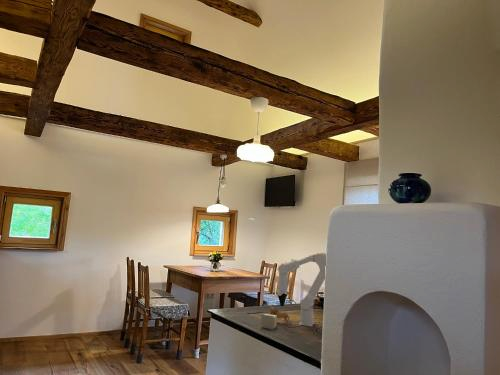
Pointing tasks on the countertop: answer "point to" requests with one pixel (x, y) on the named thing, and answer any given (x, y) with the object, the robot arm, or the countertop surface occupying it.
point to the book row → (268, 321)
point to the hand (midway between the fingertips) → (282, 305)
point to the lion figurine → (279, 314)
